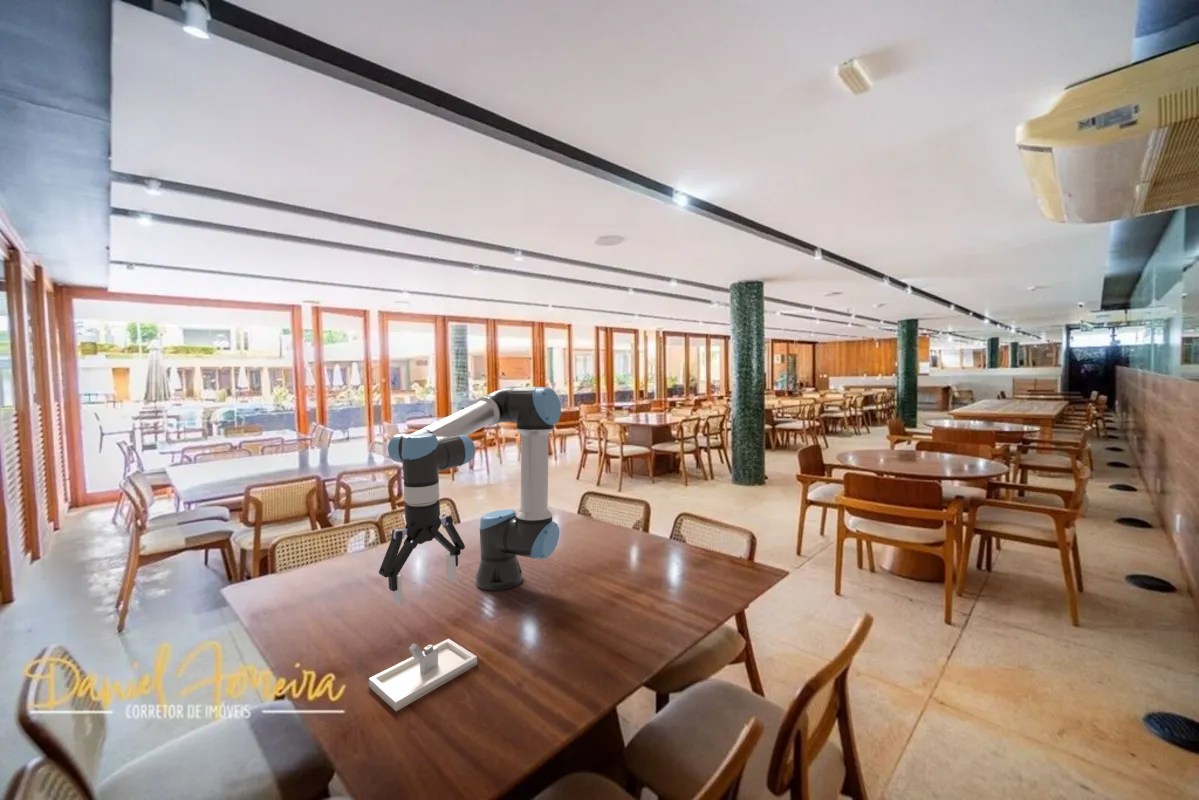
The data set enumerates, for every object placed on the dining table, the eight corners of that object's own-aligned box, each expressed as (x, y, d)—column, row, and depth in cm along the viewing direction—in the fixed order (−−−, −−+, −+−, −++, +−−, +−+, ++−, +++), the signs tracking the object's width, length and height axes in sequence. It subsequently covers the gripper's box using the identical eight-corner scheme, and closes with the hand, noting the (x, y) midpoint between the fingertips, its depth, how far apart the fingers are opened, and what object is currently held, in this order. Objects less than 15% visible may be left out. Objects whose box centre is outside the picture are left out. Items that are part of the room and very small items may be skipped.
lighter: (433, 662, 113) (432, 630, 112) (438, 664, 112) (437, 631, 111) (409, 680, 106) (408, 645, 106) (414, 682, 106) (413, 647, 105)
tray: (448, 646, 121) (448, 638, 121) (477, 664, 113) (476, 656, 113) (369, 687, 105) (368, 678, 105) (396, 711, 98) (395, 702, 98)
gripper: (459, 487, 120) (462, 568, 122) (358, 512, 101) (364, 608, 103) (477, 492, 116) (480, 576, 117) (375, 519, 96) (380, 619, 98)
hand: (426, 591), depth 110 cm, fingers open, 13 cm apart
